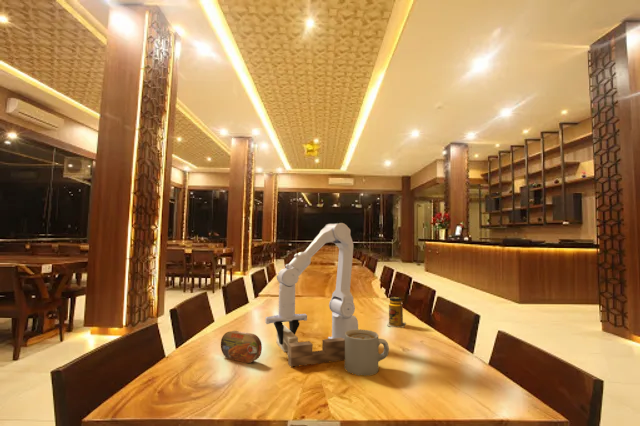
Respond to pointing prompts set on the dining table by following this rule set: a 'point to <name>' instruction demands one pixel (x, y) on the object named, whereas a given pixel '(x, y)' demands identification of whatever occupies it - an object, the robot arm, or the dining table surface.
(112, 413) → the dining table surface
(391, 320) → the condiment
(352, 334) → the coffee mug
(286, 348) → the ash notched plate
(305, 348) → the walnut slotted plate
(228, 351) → the tin
